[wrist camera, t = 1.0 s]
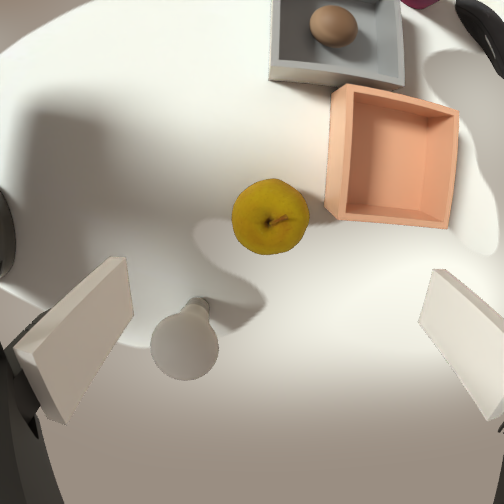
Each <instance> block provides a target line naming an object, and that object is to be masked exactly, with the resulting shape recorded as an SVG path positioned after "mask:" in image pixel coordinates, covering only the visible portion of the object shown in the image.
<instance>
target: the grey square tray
mask: <svg viewBox="0 0 504 504" xmlns="http://www.w3.org/2000/svg"><path fill="white" fill-rule="evenodd" d="M327 5H335V6H340V7H342V8H344V9H346V10H348V11H349V12H350V13H351V14H352V15H353V16H354V18H355V19H356V22H357V25H358V33H357V36H356V38H355V39H354V41H353V42H352V43H350V44H349V45H347V46H345V47H341V48H331V47H327V46H325V45H323V44H321V43H320V42H318V41H317V40H316V39H315V38H314V36H313V35H312V33H311V31H310V25H309V23H310V18H311V16H312V14H313V13H314V12H315V11H316V10H317V9H319V8H321V7H323V6H327ZM268 80H271V81H286V82H298V83H308V84H317V85H325V86H333V87H340V88H341V87H342V86H344V85H345V84H353V85H359V86H364V87H370V88H375V89H380V90H384V91H389V92H390V91H393V90H396V89H399V88H402V87H405V69H404V45H403V30H402V18H401V9H400V0H271V25H270V52H269V78H268Z"/></svg>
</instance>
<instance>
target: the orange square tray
mask: <svg viewBox="0 0 504 504" xmlns="http://www.w3.org/2000/svg"><path fill="white" fill-rule="evenodd" d="M458 133H459V111H457V110H454V109H451V108H448V107H445V106H442V105H439V104H435V103H432V102H428V101H425V100H421V99H418V98H414V97H410V96H406V95H402V94H398V93H393V92H389V91H384V90H380V89H375V88H370V87H364V86H359V85H353V84H345V85H344V86H342V87H341V88H339V89H338V90H336V91H335V92H333V93H332V94H331V108H330V130H329V148H328V163H327V177H326V189H325V200H324V207H325V208H326V209H327V210H328V211H329V212H330V213H331V214H332V215H333V216H334V217H335V218H336V219H337V220H347V221H361V222H374V223H387V224H398V225H409V226H419V227H429V228H440V229H447V228H448V223H449V217H450V211H451V204H452V198H453V190H454V182H455V173H456V163H457V150H458Z"/></svg>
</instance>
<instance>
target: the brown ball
mask: <svg viewBox="0 0 504 504" xmlns="http://www.w3.org/2000/svg"><path fill="white" fill-rule="evenodd" d="M309 25H310V31H311V33H312V35H313V36H314V38H315V39H316V40H317V41H318V42H320V43H321V44H323V45H325V46H327V47H331V48H341V47H345V46H347V45H349V44H350V43H352V42H353V41H354V39H355V38H356V36H357V33H358V25H357V22H356V19H355V18H354V16H353V15H352V14H351V13H350V12H349V11H348V10H346V9H344V8H342V7H340V6H335V5H327V6H323V7H321V8H319V9H317V10H316V11H315V12H314V13H313V14H312V16H311V18H310V23H309Z"/></svg>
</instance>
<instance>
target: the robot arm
mask: <svg viewBox="0 0 504 504" xmlns="http://www.w3.org/2000/svg"><path fill="white" fill-rule="evenodd" d="M14 256H15V232H14V226H13V221H12V217H11V213H10V210H9V208H8V205H7V203H6V201H5V198H4V197H3V195H2V193H1V192H0V278H2V277H3V276H5V275H6V274H7V273H8V272H9V270H10V268H11V266H12V264H13V261H14ZM133 316H134V312H133V306H132V299H131V293H130V285H129V278H128V270H127V262H126V257H109V258H108V259H107V260H105V261H104V262H103V263H102V264H101V265H100V266H98V267H97V268H96V269H95V270H94V271H93V272H92V273H90V274H89V275H88V276H87V277H86V278H85V279H84V280H82V281H81V282H80V283H79V284H78V285H77V286H76V287H75V288H74V289H72V290H71V291H70V292H69V293H68V294H67V295H66V296H65V297H64V298H63V299H62V300H60V301H59V302H58V303H57V304H56V305H55V306H54V307H53V308H51V309H49V310H47V311H45V312H43V313H41V314H40V315H39V316H38V317H37V318H36V319H35V320H33V321H32V324H29V325H28V326H27V327H26V328H25V331H24V330H23V331H22V332H21V333H20V334H19V335H18V336H17V337H16V338H15V339H14V340H13V341H12V342H11V343H10V344H9V345H8V346H7V347H6V348H5V349H4V350H3V347H2V345H1V342H0V504H64V501H63V499H62V496H61V493H60V491H59V488H58V485H57V482H56V479H55V477H54V473H53V470H52V467H51V464H50V460H49V457H48V454H47V450H46V446H45V443H44V438H43V435H42V430H41V426H40V422H39V419H38V417H37V415H36V412H37V410H38V408H39V407H40V406H41V408H42V410H43V412H44V413H45V415H46V417H47V418H48V419H50V420H52V421H55V422H58V423H61V424H64V425H67V424H68V422H69V421H70V419H71V417H72V415H73V414H74V412H75V410H76V408H77V406H78V405H79V403H80V401H81V399H82V398H83V396H84V394H85V393H86V391H87V389H88V388H89V386H90V384H91V382H92V381H93V379H94V378H95V376H96V374H97V373H98V371H99V369H100V368H101V366H102V365H103V363H104V361H105V359H106V358H107V356H108V355H109V353H110V352H111V350H112V348H113V347H114V345H115V344H116V342H117V341H118V339H119V337H120V336H121V334H122V333H123V331H124V330H125V328H126V327H127V325H128V324H129V322H130V321H131V319H132V317H133ZM418 323H419V325H420V326H421V327H422V328H423V330H424V331H425V332H426V334H427V335H428V336H429V338H430V339H431V340H432V342H433V343H434V344H435V346H436V347H437V348H438V350H439V351H440V353H441V354H442V355H443V357H444V358H445V359H446V361H447V362H448V364H449V365H450V367H451V368H452V369H453V371H454V372H455V374H456V375H457V376H458V378H459V379H460V381H461V382H462V384H463V385H464V387H465V388H466V390H467V391H468V393H469V394H470V396H471V397H472V399H473V400H474V402H475V403H476V405H477V406H478V408H479V410H480V411H481V413H482V414H483V416H484V418H485V419H486V421H489V420H492V419H495V418H497V417H500V416H501V415H502V413H503V412H504V319H503V318H502V317H501V316H500V315H499V314H498V313H497V312H496V311H495V310H493V309H492V308H491V307H490V306H489V305H488V304H487V303H486V302H484V301H483V300H482V299H481V298H480V297H479V296H478V295H476V294H475V293H474V292H473V291H472V290H470V289H469V288H468V287H467V286H465V285H464V284H463V283H462V282H461V281H460V280H458V279H457V278H456V277H454V276H453V275H452V274H451V273H450V272H448V271H447V270H446V269H433V270H432V274H431V278H430V282H429V286H428V290H427V293H426V297H425V301H424V304H423V307H422V311H421V314H420V317H419V320H418ZM503 428H504V422H503V423H502V425H501V426H500V427H499V429H498V432H501V430H502V429H503ZM503 434H504V433H503ZM493 504H504V456H503V462H502V467H501V472H500V478H499V482H498V486H497V491H496V495H495V499H494V503H493Z"/></svg>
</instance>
